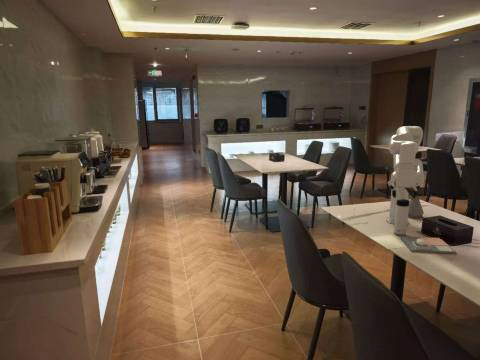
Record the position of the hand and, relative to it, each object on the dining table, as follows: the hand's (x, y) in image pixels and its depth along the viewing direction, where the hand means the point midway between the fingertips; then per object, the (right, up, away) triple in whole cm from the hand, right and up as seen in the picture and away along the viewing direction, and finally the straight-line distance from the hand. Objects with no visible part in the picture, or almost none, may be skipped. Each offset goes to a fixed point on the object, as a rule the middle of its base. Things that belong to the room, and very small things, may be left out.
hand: (403, 197), depth 181 cm
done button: (+1, -22, -16) cm, 27 cm away
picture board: (+6, -24, -11) cm, 27 cm away
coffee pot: (+24, -13, +41) cm, 49 cm away
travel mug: (0, -21, +5) cm, 21 cm away
